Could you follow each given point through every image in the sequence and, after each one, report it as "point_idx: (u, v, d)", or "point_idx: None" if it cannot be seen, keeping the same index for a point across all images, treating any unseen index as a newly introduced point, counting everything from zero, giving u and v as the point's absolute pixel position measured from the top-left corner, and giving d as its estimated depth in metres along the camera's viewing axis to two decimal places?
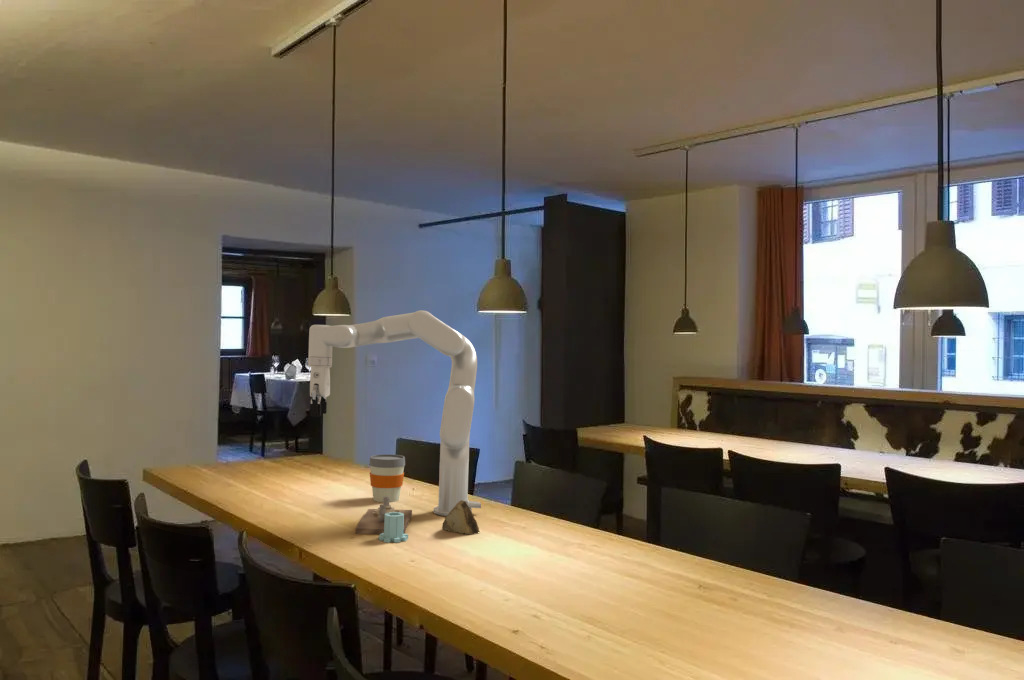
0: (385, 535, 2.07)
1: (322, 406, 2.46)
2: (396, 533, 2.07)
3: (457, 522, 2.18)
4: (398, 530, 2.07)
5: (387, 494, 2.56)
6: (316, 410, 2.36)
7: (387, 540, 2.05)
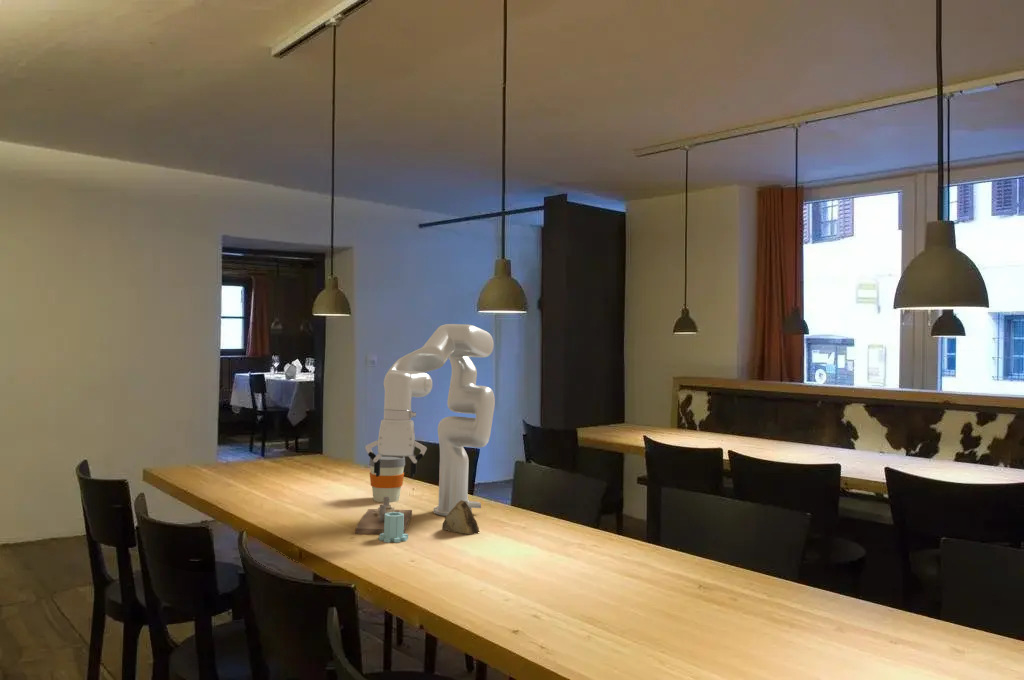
0: (385, 535, 2.07)
1: (379, 467, 2.09)
2: (396, 533, 2.07)
3: (457, 522, 2.18)
4: (398, 530, 2.07)
5: (387, 494, 2.56)
6: None
7: (387, 540, 2.05)
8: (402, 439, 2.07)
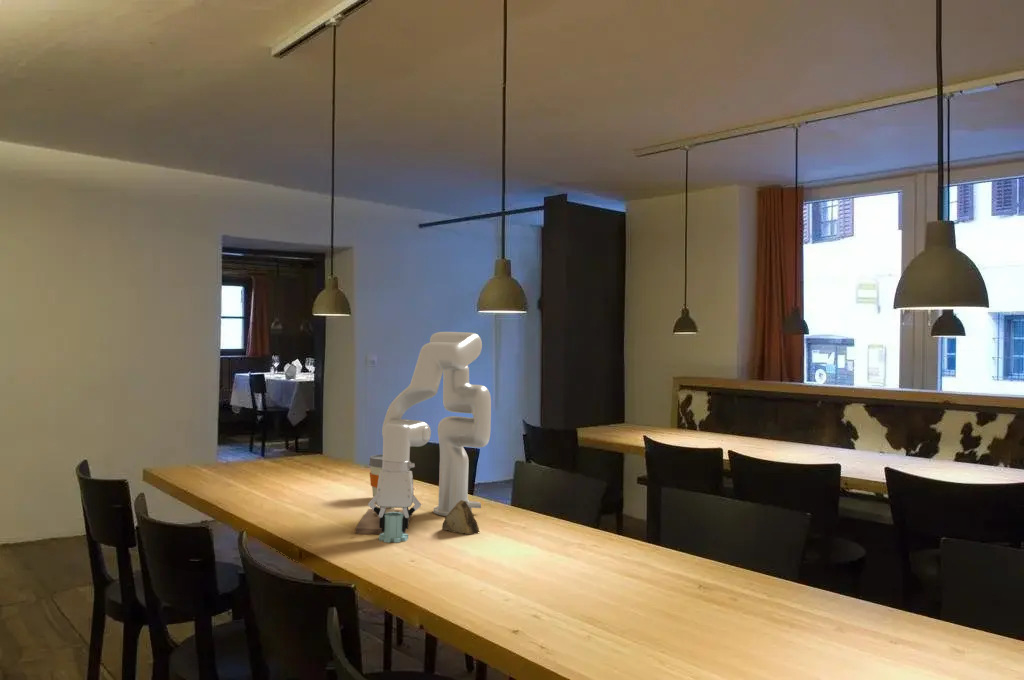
0: (385, 535, 2.07)
1: None
2: (396, 533, 2.07)
3: (457, 522, 2.18)
4: (398, 530, 2.07)
5: None
6: None
7: (387, 540, 2.05)
8: (401, 491, 2.07)
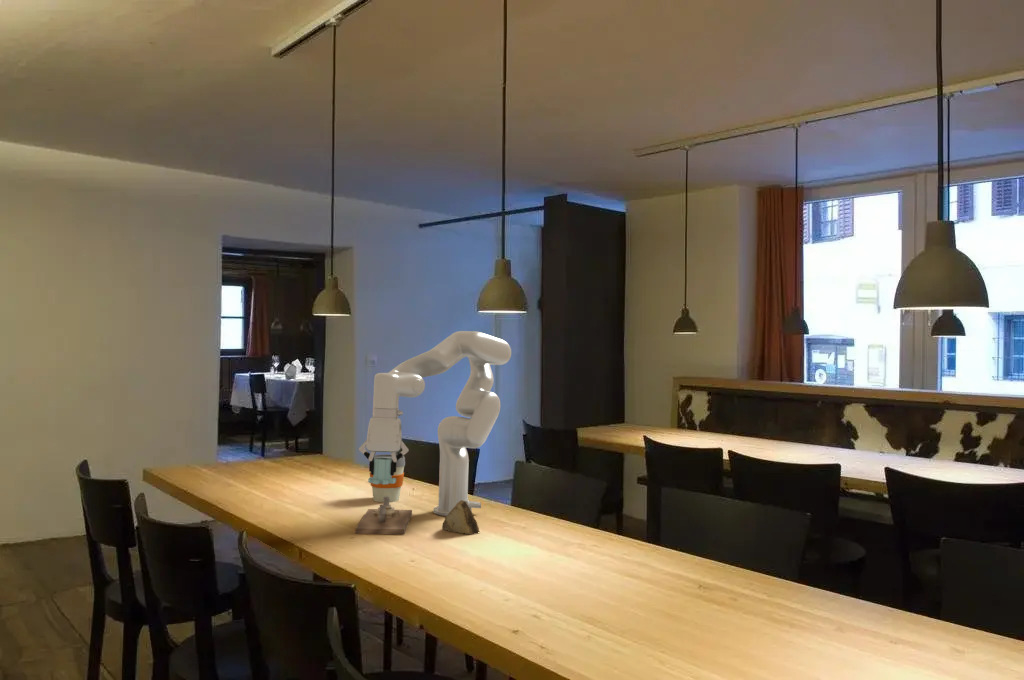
0: (374, 478, 2.20)
1: None
2: (384, 476, 2.20)
3: (457, 522, 2.18)
4: (386, 473, 2.20)
5: (387, 494, 2.56)
6: None
7: (376, 482, 2.18)
8: (389, 436, 2.20)
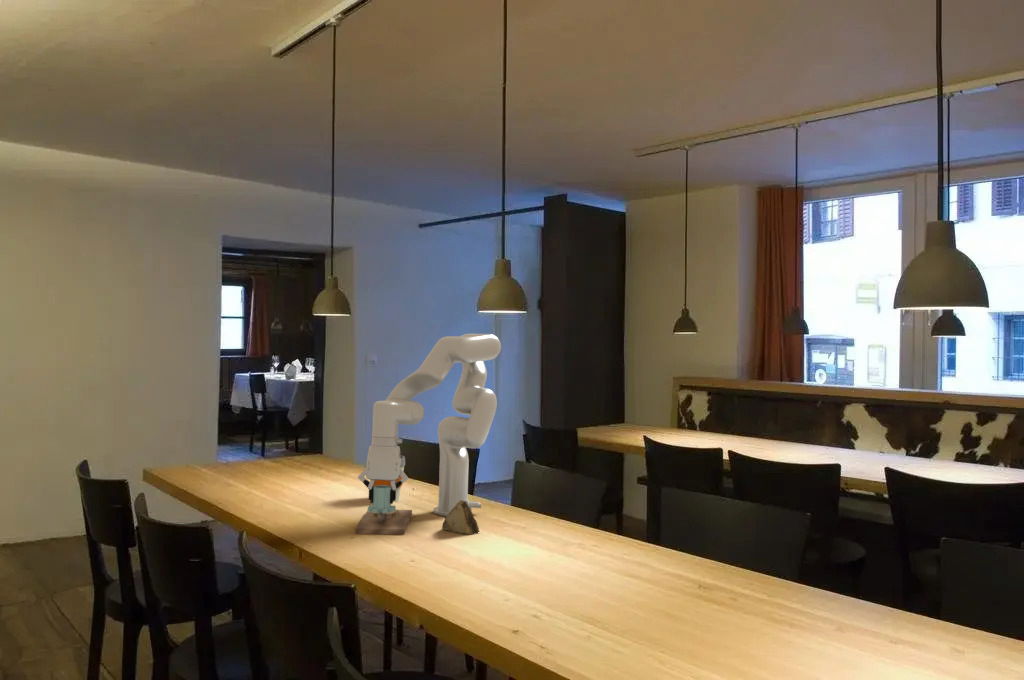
0: (374, 506, 2.20)
1: None
2: (384, 504, 2.20)
3: (457, 522, 2.18)
4: (386, 501, 2.20)
5: None
6: (395, 496, 2.23)
7: (375, 510, 2.18)
8: (389, 464, 2.20)
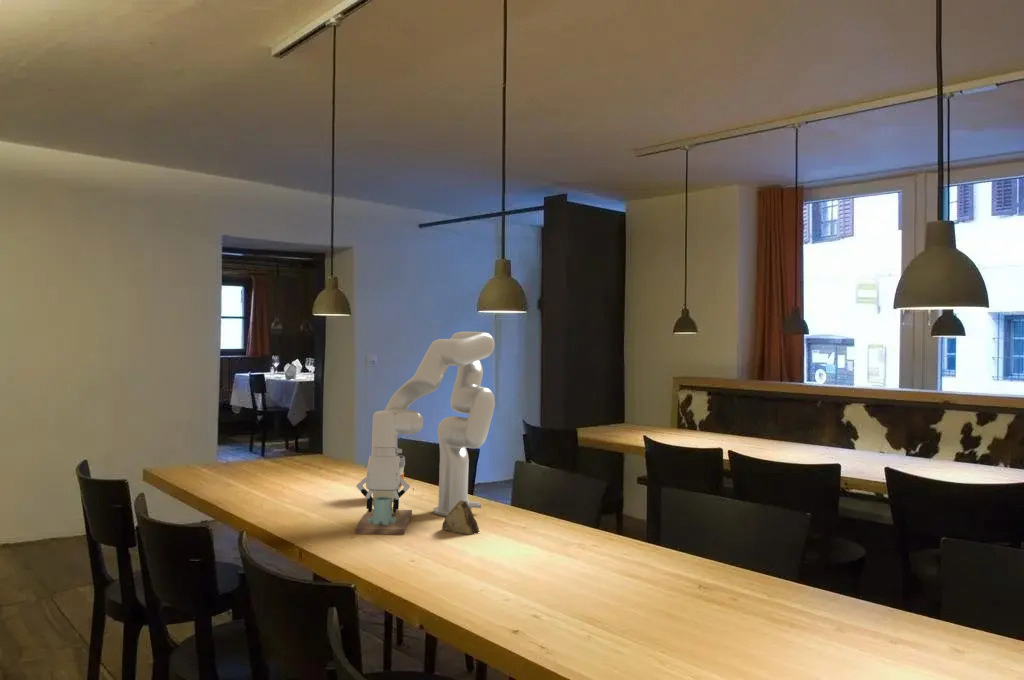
0: (374, 518, 2.21)
1: (371, 503, 2.23)
2: (384, 516, 2.20)
3: (457, 522, 2.18)
4: (386, 513, 2.20)
5: (387, 494, 2.56)
6: (398, 504, 2.23)
7: (376, 522, 2.18)
8: (389, 474, 2.20)
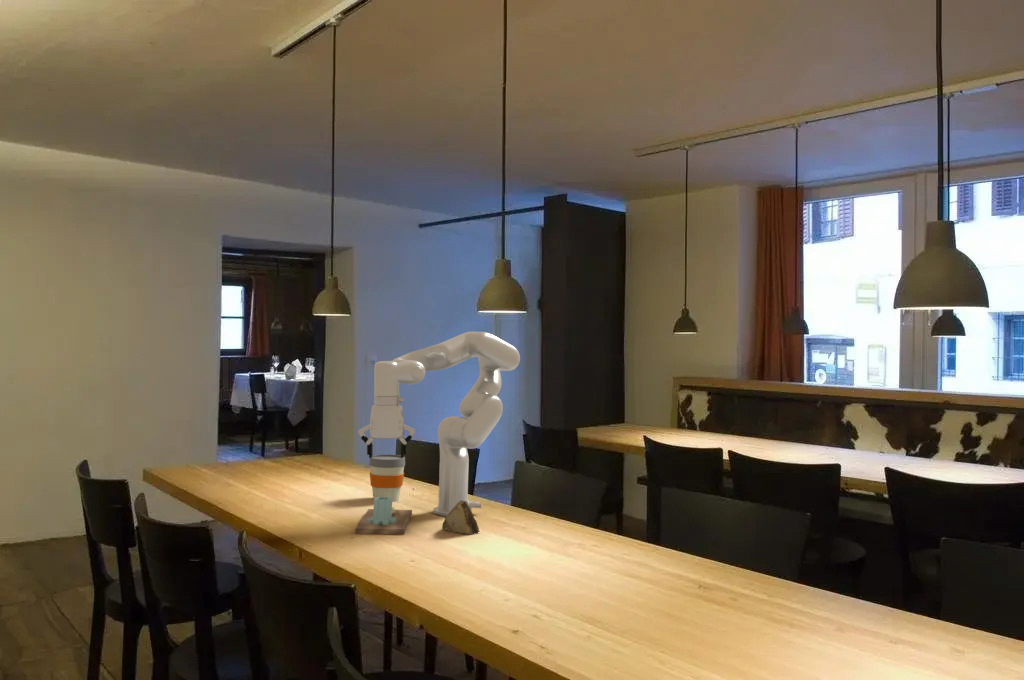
0: (374, 518, 2.21)
1: (372, 449, 2.27)
2: (384, 516, 2.20)
3: (457, 522, 2.18)
4: (386, 513, 2.20)
5: (387, 494, 2.56)
6: None
7: (376, 522, 2.18)
8: (392, 423, 2.24)
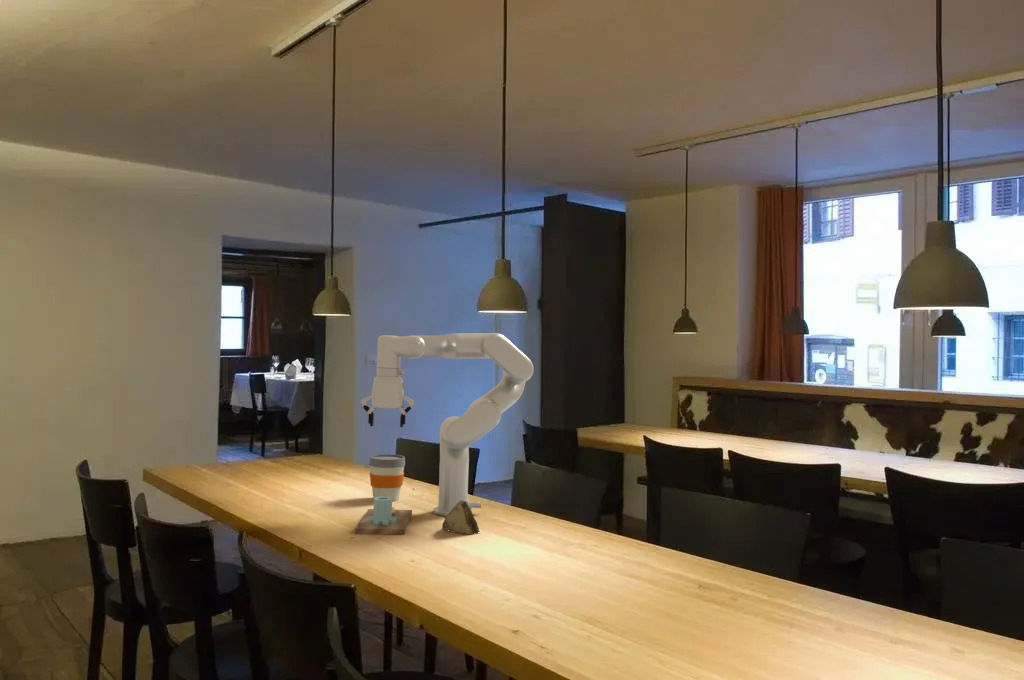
0: (374, 518, 2.21)
1: (373, 418, 2.39)
2: (384, 516, 2.20)
3: (457, 522, 2.18)
4: (386, 513, 2.20)
5: (387, 494, 2.56)
6: None
7: (376, 522, 2.18)
8: (392, 393, 2.37)
